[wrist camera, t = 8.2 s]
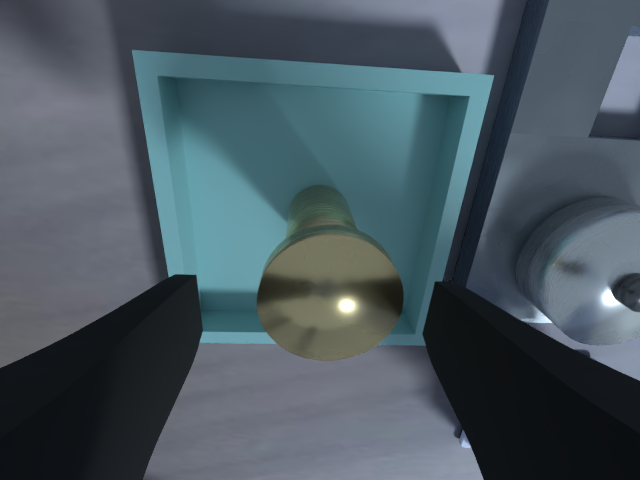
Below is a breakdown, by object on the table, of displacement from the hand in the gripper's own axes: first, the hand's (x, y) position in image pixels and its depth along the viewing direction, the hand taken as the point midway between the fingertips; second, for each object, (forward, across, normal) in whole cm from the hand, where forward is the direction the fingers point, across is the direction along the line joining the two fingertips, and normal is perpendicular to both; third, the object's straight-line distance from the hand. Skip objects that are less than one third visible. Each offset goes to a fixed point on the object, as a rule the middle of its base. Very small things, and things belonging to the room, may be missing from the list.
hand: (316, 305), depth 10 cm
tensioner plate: (+8, -15, -3) cm, 17 cm away
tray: (+8, 0, 0) cm, 8 cm away
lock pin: (+8, 0, 0) cm, 8 cm away
